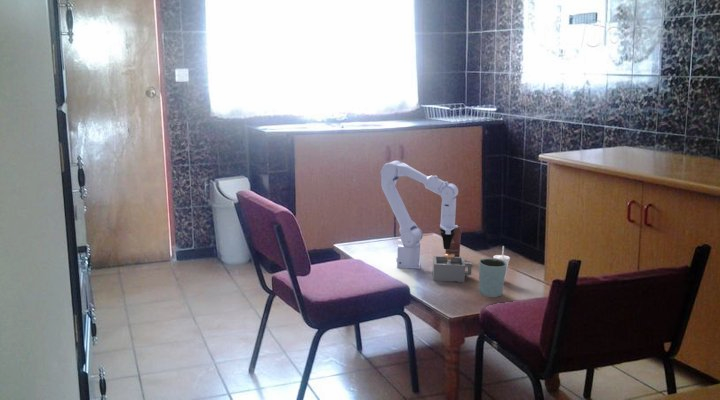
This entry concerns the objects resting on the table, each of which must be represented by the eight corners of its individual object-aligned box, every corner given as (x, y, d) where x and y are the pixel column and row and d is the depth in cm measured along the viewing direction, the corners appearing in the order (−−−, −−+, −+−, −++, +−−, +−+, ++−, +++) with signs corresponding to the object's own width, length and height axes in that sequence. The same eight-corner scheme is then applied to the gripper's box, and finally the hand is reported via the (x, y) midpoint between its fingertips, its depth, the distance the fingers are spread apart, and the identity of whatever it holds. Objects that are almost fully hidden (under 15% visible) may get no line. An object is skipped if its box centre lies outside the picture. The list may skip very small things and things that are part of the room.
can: (459, 260, 311) (461, 228, 309) (444, 258, 313) (446, 227, 310) (460, 256, 317) (462, 224, 314) (445, 255, 318) (447, 223, 316)
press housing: (433, 280, 282) (434, 264, 281) (432, 271, 294) (433, 255, 293) (471, 282, 281) (472, 266, 280) (469, 273, 293) (470, 257, 292)
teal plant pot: (485, 287, 276) (487, 256, 274) (509, 293, 270) (512, 262, 268) (471, 293, 268) (473, 262, 266) (496, 300, 262) (498, 267, 260)
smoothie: (498, 284, 280) (500, 249, 277) (488, 279, 286) (490, 244, 283) (511, 282, 283) (514, 247, 280) (501, 277, 289) (503, 243, 286)
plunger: (437, 270, 283) (438, 257, 282) (437, 263, 292) (437, 251, 291) (460, 271, 282) (461, 258, 281) (459, 264, 291) (460, 252, 290)
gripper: (459, 219, 283) (457, 252, 285) (457, 211, 297) (455, 243, 300) (441, 218, 283) (439, 252, 286) (439, 210, 297) (438, 242, 300)
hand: (446, 247), depth 293 cm, fingers open, 3 cm apart
